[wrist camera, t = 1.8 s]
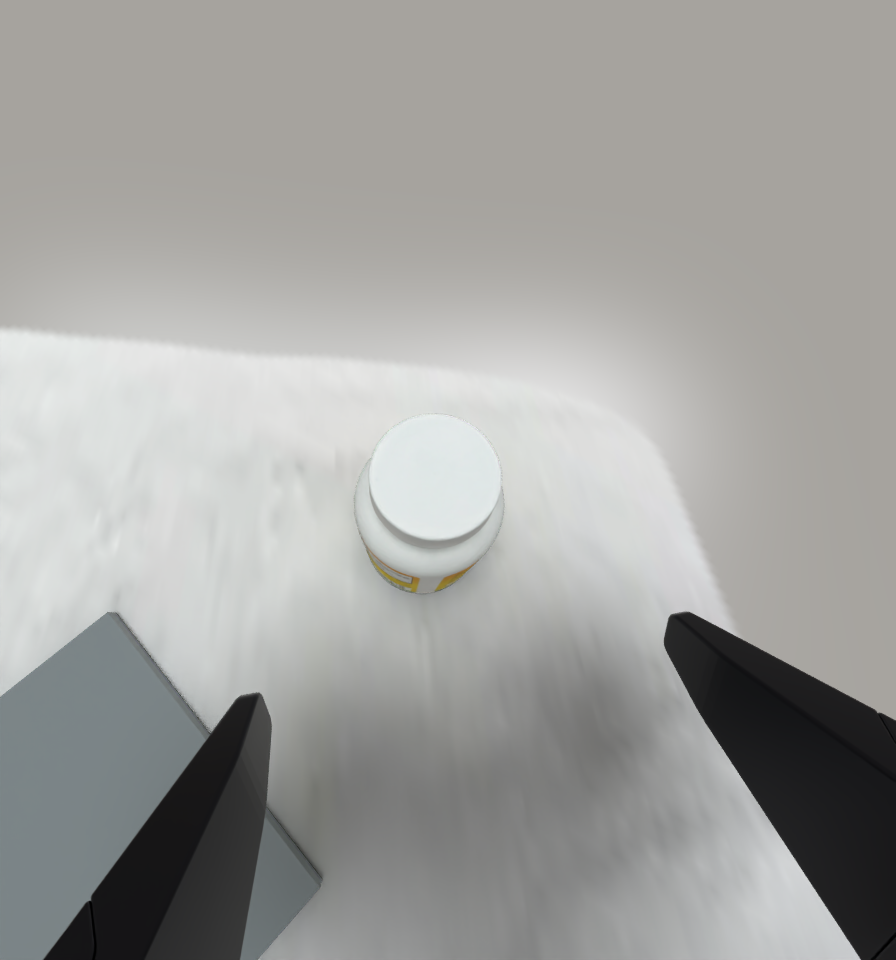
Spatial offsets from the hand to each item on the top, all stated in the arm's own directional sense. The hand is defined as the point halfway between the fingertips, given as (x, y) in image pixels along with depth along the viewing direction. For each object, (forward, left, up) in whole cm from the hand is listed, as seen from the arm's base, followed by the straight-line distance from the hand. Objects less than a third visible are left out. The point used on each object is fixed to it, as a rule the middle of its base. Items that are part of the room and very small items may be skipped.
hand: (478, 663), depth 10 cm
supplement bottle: (+5, -3, -12) cm, 13 cm away
